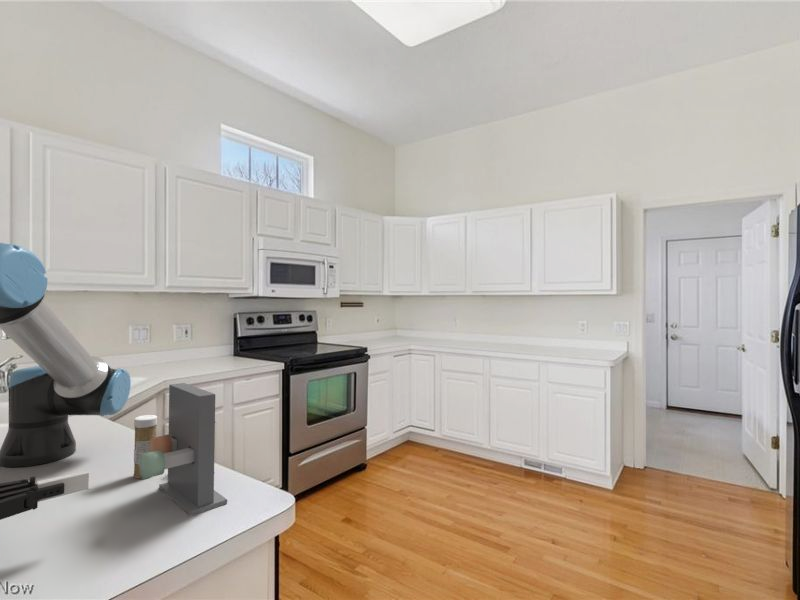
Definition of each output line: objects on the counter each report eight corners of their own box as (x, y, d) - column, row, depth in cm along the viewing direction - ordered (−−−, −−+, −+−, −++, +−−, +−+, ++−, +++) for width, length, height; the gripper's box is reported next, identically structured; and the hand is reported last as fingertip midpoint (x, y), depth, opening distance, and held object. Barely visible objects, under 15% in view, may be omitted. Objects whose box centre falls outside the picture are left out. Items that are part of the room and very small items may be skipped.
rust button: (148, 456, 89) (149, 435, 89) (205, 443, 97) (206, 424, 97) (156, 462, 86) (156, 440, 86) (214, 448, 94) (214, 428, 94)
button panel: (159, 488, 92) (160, 385, 92) (193, 478, 97) (194, 381, 97) (190, 515, 80) (192, 398, 80) (227, 503, 85) (229, 392, 86)
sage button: (138, 475, 79) (139, 451, 79) (202, 459, 88) (202, 437, 88) (146, 482, 76) (146, 457, 76) (211, 464, 85) (212, 442, 85)
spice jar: (139, 471, 100) (140, 414, 101) (159, 471, 101) (160, 414, 101) (129, 479, 96) (130, 419, 96) (150, 479, 96) (151, 419, 96)
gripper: (-132, 542, 59) (78, 490, 76) (-146, 586, 50) (96, 515, 67) (-131, 488, 59) (79, 447, 76) (-144, 522, 50) (97, 467, 67)
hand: (87, 479), depth 72 cm, fingers closed
